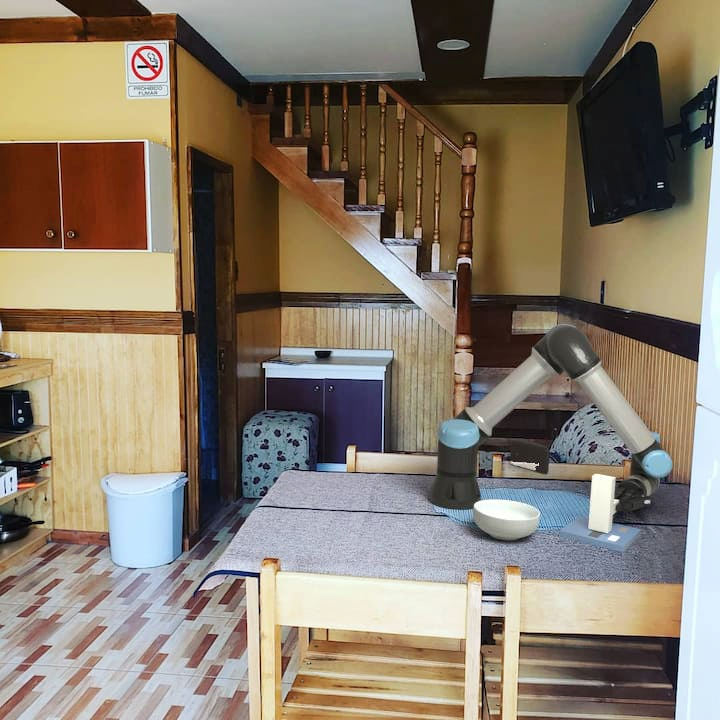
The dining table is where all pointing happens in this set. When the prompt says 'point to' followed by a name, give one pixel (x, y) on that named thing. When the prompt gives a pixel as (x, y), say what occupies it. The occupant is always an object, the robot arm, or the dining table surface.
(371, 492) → the dining table surface
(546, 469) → the leaning round-cornered charcoal block
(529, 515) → the cereal bowl
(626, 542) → the switch board
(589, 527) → the white upright block
